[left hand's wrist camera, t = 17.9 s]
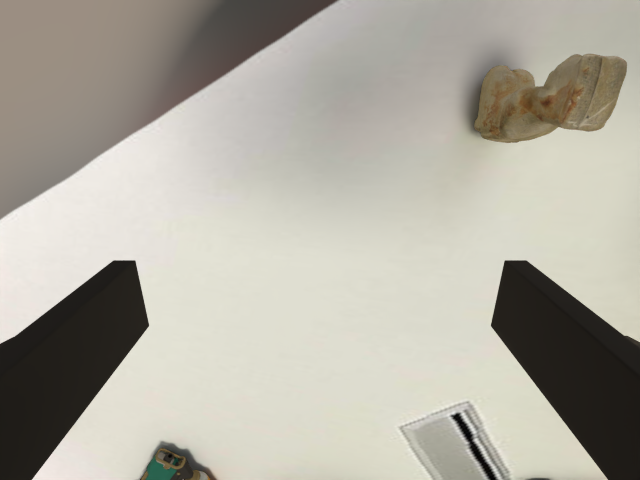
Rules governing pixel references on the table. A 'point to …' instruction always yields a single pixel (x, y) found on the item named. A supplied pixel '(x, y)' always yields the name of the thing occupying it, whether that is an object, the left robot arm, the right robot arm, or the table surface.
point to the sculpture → (549, 98)
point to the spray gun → (171, 468)
